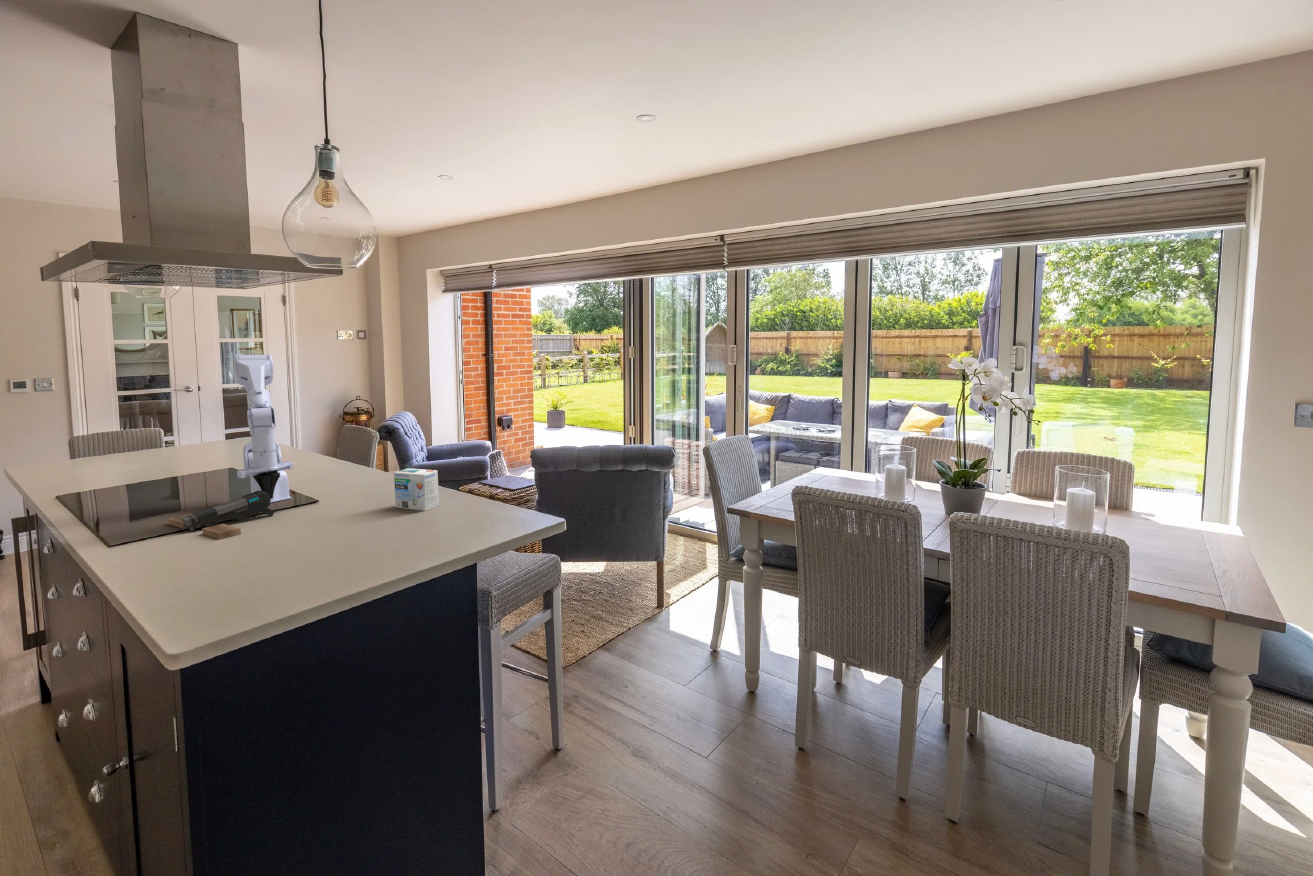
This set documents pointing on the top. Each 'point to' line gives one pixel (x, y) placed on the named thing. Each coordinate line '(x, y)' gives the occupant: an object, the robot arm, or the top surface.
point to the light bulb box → (416, 489)
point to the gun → (230, 510)
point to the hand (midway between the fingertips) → (268, 498)
